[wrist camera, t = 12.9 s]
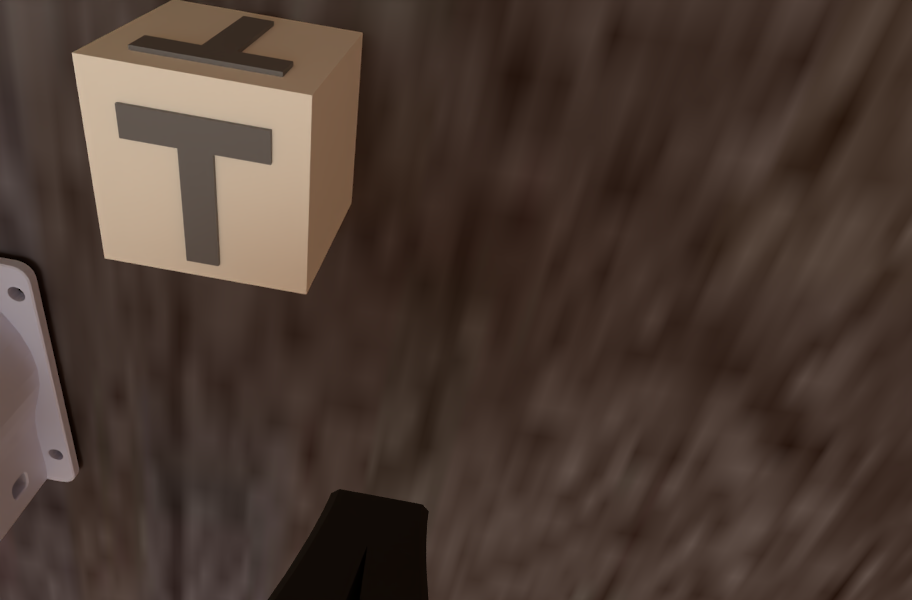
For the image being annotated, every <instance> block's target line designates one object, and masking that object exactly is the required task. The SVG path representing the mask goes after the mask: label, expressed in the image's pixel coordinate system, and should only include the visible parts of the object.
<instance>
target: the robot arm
mask: <svg viewBox="0 0 912 600" xmlns="http://www.w3.org/2000/svg"><path fill="white" fill-rule="evenodd" d="M17 288H18V289H20V290H21V291H22V292H23V293H21V292H20V291H19V290H18V289H17ZM78 473H79V466H78V461H77V457H76V452H75V448H74V443H73V439H72V434H71V430H70V425H69V421H68V417H67V412H66V408H65V403H64V399H63V394H62V390H61V385H60V381H59V376H58V372H57V367H56V363H55V358H54V354H53V349H52V345H51V340H50V336H49V331H48V327H47V323H46V318H45V314H44V309H43V305H42V300H41V296H40V291H39V287H38V282H37V278H36V275H35V273H34V271H33V270H32V269H31V268H30V267H29V266H28V265H26V264H25V263H23V262H20V261H17V260H12V259H7V258H1V257H0V541H1V540H2V539H3V537H4V536H5V534H6V533H7V532H8V530H9V529H10V528H11V526H12V525H13V524H14V522H15V521H16V520H17V518H18V517H19V516H20V514H21V513H22V512H23V510H24V509H25V508H26V506H27V505H28V504H29V502H30V501H31V500H32V498H33V497H34V496H35V494H36V493H37V491H38V490H39V489H40V487H41V486H42V485H43V483H44V482H45V481H46V479H51V480H56V481H62V482H69V481H72V480H73V479H74V478H75V477H76V475H77V474H78ZM428 512H429V511H428V510H427V509H426V508H425V507H424V506H423V505H422V504H417V503H411V502H406V501H401V500H395V499H390V498H384V497H379V496H374V495H368V494H363V493H358V492H352V491H347V490H341V489H339V490H337V491H335V492H333V493H331V495H330V498H329V500H328V502H327V504H326V506H325V508H324V510H323V512H322V514H321V516H320V518H319V519H318V521H317V523H316V525H315V527H314V529H313V530H312V532H311V534H310V536H309V537H308V539H307V541H306V542H305V544H304V546H303V547H302V549H301V550H300V552H299V554H298V555H297V557H296V558H295V560H294V561H293V563H292V565H291V566H290V568H289V569H288V571H287V572H286V574H285V576H284V577H283V578H282V580H281V581H280V583H279V584H278V586H277V587H276V588H275V590H274V591H273V593H272V594H271V596H270V597H269V599H268V600H428V587H427V571H426V534H427V520H428Z"/></svg>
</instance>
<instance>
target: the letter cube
mask: <svg viewBox="0 0 912 600" xmlns="http://www.w3.org/2000/svg"><path fill="white" fill-rule="evenodd" d="M362 39H363V33H362V32H356V31H351V30H345V29H339V28H334V27H328V26H322V25H317V24H311V23H306V22H300V21H294V20H289V19H283V18H277V17H272V16H266V15H260V14H255V13H249V12H243V11H238V10H232V9H227V8H221V7H215V6H210V5H204V4H198V3H193V2H187V1H181V0H171V1H169V2H167V3H165V4H164V5H162V6H160V7H158V8H156V9H154V10H152V11H150V12H148V13H146V14H144V15H143V16H141V17H139V18H137V19H135V20H133V21H131V22H129V23H127V24H125V25H124V26H122V27H120V28H118V29H116V30H114V31H112V32H110V33H108V34H106V35H105V36H103V37H101V38H99V39H97V40H95V41H93V42H91V43H89V44H87V45H85V46H84V47H82V48H80V49H78V50H76V51H74V52H72V57H73V63H74V70H75V76H76V82H77V88H78V95H79V101H80V107H81V113H82V120H83V126H84V132H85V138H86V145H87V151H88V157H89V163H90V169H91V176H92V182H93V188H94V194H95V201H96V207H97V213H98V219H99V226H100V232H101V238H102V244H103V251H104V257H105V258H106V259H111V260H117V261H122V262H128V263H134V264H139V265H145V266H150V267H156V268H161V269H167V270H173V271H178V272H184V273H189V274H195V275H200V276H206V277H212V278H217V279H223V280H228V281H234V282H239V283H245V284H251V285H256V286H262V287H267V288H273V289H278V290H284V291H290V292H295V293H301V294H307V292H308V290H309V288H310V286H311V284H312V282H313V280H314V278H315V276H316V274H317V272H318V270H319V268H320V266H321V264H322V262H323V260H324V258H325V256H326V254H327V252H328V250H329V248H330V246H331V244H332V242H333V240H334V238H335V236H336V234H337V232H338V230H339V228H340V226H341V224H342V222H343V219H344V217H345V215H346V213H347V211H348V209H349V207H350V205H351V203H352V190H353V175H354V160H355V144H356V129H357V114H358V99H359V84H360V69H361V54H362Z"/></svg>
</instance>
